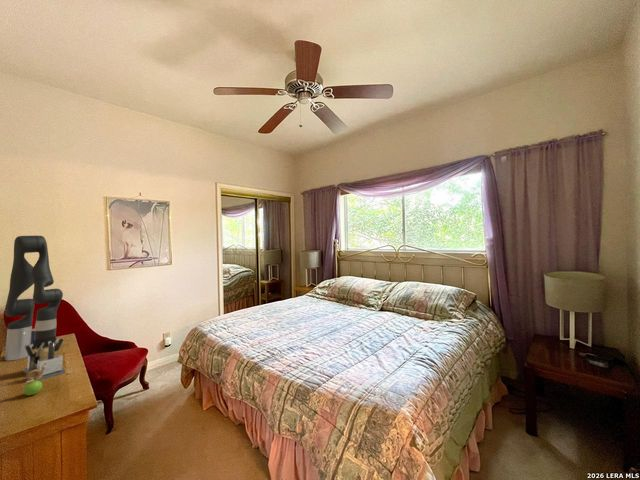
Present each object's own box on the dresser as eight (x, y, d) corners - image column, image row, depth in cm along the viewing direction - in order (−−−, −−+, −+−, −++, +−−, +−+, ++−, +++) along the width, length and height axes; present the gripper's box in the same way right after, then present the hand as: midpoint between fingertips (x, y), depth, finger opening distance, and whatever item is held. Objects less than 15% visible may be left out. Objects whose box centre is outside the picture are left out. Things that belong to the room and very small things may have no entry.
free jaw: (36, 374, 122) (38, 344, 123) (59, 368, 129) (61, 339, 130) (39, 376, 120) (41, 345, 121) (62, 369, 127) (64, 341, 128)
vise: (23, 372, 128) (24, 355, 128) (51, 364, 137) (52, 348, 137) (36, 381, 119) (37, 362, 120) (64, 372, 128) (66, 355, 128)
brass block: (39, 369, 126) (40, 349, 126) (35, 366, 129) (36, 346, 129) (50, 366, 129) (51, 346, 130) (46, 363, 132) (47, 344, 133)
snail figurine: (47, 391, 111) (49, 363, 112) (27, 399, 105) (29, 369, 106) (40, 388, 113) (42, 361, 113) (19, 396, 107) (22, 367, 107)
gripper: (27, 333, 122) (24, 369, 121) (67, 325, 135) (64, 358, 134) (22, 330, 126) (19, 365, 125) (61, 323, 138) (59, 355, 137)
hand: (43, 362), depth 129 cm, fingers closed on brass block, 4 cm apart
